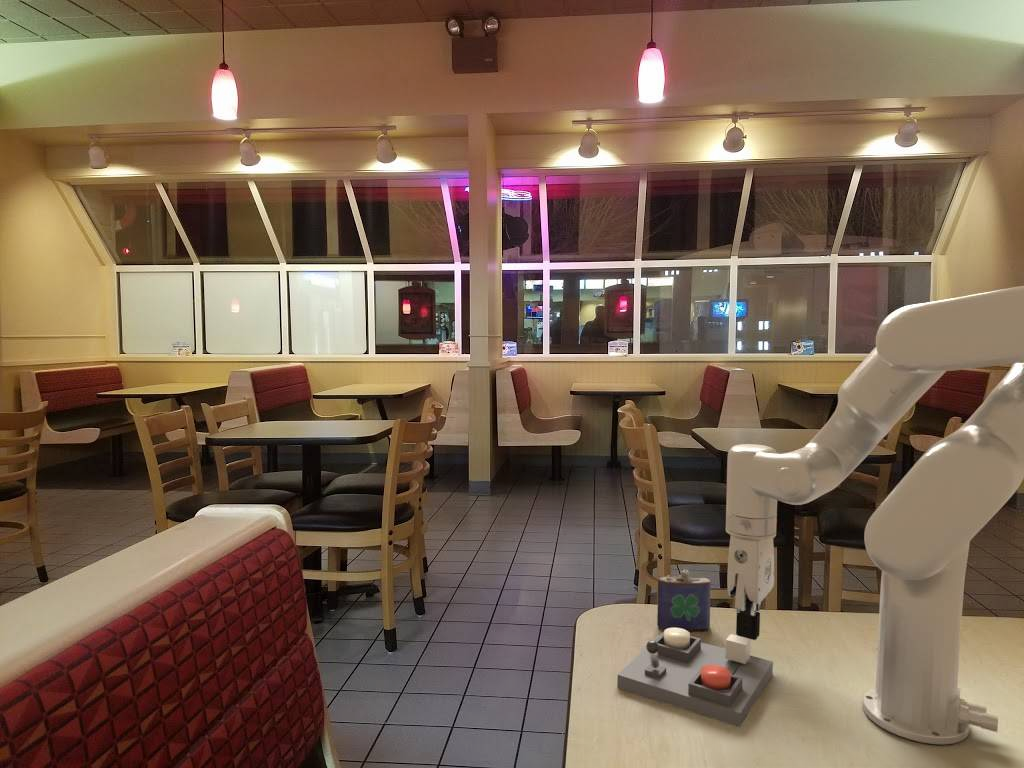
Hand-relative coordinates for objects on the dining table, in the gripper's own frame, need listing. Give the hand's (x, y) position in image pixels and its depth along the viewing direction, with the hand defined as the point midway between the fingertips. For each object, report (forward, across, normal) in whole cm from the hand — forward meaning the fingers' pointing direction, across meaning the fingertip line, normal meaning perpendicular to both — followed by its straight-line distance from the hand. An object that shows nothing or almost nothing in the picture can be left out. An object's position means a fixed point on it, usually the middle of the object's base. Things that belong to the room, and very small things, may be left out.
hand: (747, 635), depth 110 cm
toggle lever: (+1, -16, +9) cm, 18 cm away
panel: (+4, -11, +4) cm, 12 cm away
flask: (+4, +5, +13) cm, 14 cm away
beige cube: (+2, -5, 0) cm, 5 cm away
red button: (+1, -16, 0) cm, 16 cm away
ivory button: (+1, -7, +9) cm, 12 cm away
